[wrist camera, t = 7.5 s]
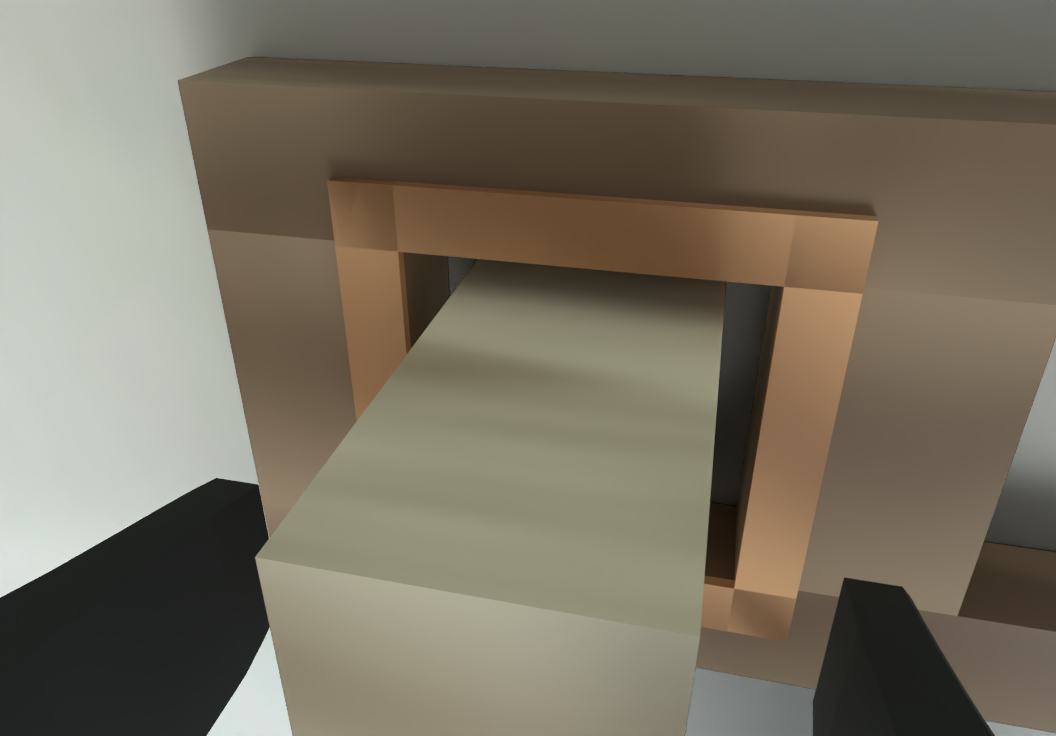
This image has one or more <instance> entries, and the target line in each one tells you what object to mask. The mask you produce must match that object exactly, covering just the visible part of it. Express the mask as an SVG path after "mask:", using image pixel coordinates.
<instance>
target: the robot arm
mask: <svg viewBox="0 0 1056 736" xmlns="http://www.w3.org/2000/svg"><path fill="white" fill-rule="evenodd" d="M268 539H269V537H268V531H267V526H266V521H265V516H264V511H263V506H262V501H261V496H260V491H259V486H258V485H257V484H250V483H244V482H238V481H231V480H225V479H219V478H216V479H214V480H212V481H210V482H208V483H206V484H204V485H202V486H200V487H198V488H196V489H194V490H192V491H190V492H188V493H187V494H185V495H183V496H181V497H179V498H178V499H176V500H174V501H172V502H170V503H169V504H167V505H165V506H163V507H162V508H160V509H158V510H156V511H155V512H153V513H151V514H150V515H148V516H146V517H144V518H143V519H141V520H139V521H137V522H136V523H134V524H132V525H130V526H129V527H127V528H125V529H124V530H122V531H120V532H118V533H117V534H115V535H113V536H111V537H110V538H108V539H106V540H104V541H103V542H101V543H99V544H97V545H96V546H94V547H92V548H90V549H89V550H87V551H85V552H83V553H82V554H80V555H78V556H76V557H75V558H73V559H71V560H69V561H68V562H66V563H64V564H62V565H61V566H59V567H57V568H55V569H53V570H52V571H50V572H48V573H46V574H44V575H43V576H41V577H39V578H37V579H35V580H33V581H31V582H29V583H27V584H26V585H24V586H22V587H20V588H18V589H16V590H14V591H12V592H10V593H9V594H7V595H5V596H3V597H1V598H0V736H206V735H207V734H208V732H209V731H210V729H211V728H212V726H213V725H214V723H215V722H216V720H217V719H218V717H219V715H220V714H221V712H222V711H223V709H224V708H225V706H226V705H227V703H228V702H229V700H230V699H231V697H232V695H233V694H234V692H235V691H236V689H237V688H238V686H239V684H240V683H241V681H242V680H243V678H244V677H245V675H246V673H247V671H248V670H249V668H250V666H251V664H252V662H253V660H254V658H255V656H256V654H257V652H258V650H259V648H260V646H261V644H262V642H263V640H264V638H265V636H266V634H267V631H268V629H269V627H270V626H269V621H268V616H267V611H266V607H265V602H264V597H263V593H262V588H261V583H260V578H259V574H258V569H257V564H256V559H255V557H256V555H257V554H258V553H259V551H260V550H261V549H262V547H263V546H264V545H265V543H266V542H267V541H268ZM813 736H995V735H994V734H993V732H992V731H991V729H990V728H989V726H988V725H987V723H986V722H985V720H984V719H983V717H982V716H981V714H980V712H979V711H978V709H977V708H976V706H975V705H974V703H973V701H972V700H971V698H970V697H969V695H968V693H967V692H966V690H965V689H964V687H963V685H962V684H961V682H960V680H959V679H958V677H957V675H956V674H955V672H954V671H953V669H952V667H951V666H950V664H949V662H948V661H947V659H946V657H945V656H944V654H943V652H942V651H941V649H940V647H939V646H938V644H937V642H936V640H935V639H934V637H933V635H932V634H931V632H930V630H929V628H928V627H927V625H926V623H925V621H924V620H923V618H922V616H921V614H920V613H919V611H918V609H917V607H916V606H915V604H914V602H913V600H912V599H911V597H910V595H909V594H908V593H907V592H906V590H905V589H904V588H903V587H902V586H896V585H889V584H883V583H877V582H870V581H864V580H858V579H851V578H845V577H844V579H843V583H842V587H841V591H840V595H839V600H838V604H837V608H836V612H835V616H834V620H833V624H832V628H831V632H830V636H829V640H828V644H827V648H826V652H825V656H824V660H823V664H822V668H821V672H820V676H819V680H818V684H817V688H816V692H815V696H814V700H813Z"/></svg>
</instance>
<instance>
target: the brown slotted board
mask: <svg viewBox="0 0 1056 736" xmlns="http://www.w3.org/2000/svg"><path fill="white" fill-rule="evenodd" d="M178 85H179V90H180V95H181V100H182V105H183V110H184V115H185V120H186V125H187V130H188V135H189V140H190V144H191V149H192V154H193V159H194V164H195V169H196V174H197V179H198V184H199V189H200V194H201V199H202V204H203V209H204V214H205V219H206V224H207V229H208V234H209V239H210V244H211V249H212V254H213V259H214V264H215V269H216V274H217V279H218V284H219V289H220V294H221V299H222V303H223V308H224V313H225V318H226V323H227V328H228V333H229V338H230V343H231V348H232V353H233V358H234V363H235V368H236V373H237V378H238V383H239V388H240V393H241V398H242V403H243V408H244V413H245V418H246V423H247V428H248V433H249V438H250V443H251V448H252V453H253V457H254V462H255V467H256V472H257V477H258V482H259V487H260V492H261V497H262V502H263V507H264V512H265V517H266V522H267V527H268V532H269V537H271V535H272V534H273V533H274V531H275V530H276V529H277V527H278V526H279V525H280V523H281V522H282V521H283V519H284V518H285V517H286V515H287V514H288V513H289V511H290V510H291V509H292V507H293V506H294V505H295V503H296V502H297V501H298V499H299V498H300V497H301V495H302V494H303V493H304V491H305V490H306V489H307V487H308V486H309V485H310V483H311V482H312V481H313V479H314V478H315V477H316V475H317V474H318V473H319V471H320V470H321V469H322V467H323V466H324V465H325V463H326V462H327V461H328V459H329V458H330V457H331V455H332V454H333V453H334V451H335V450H336V449H337V447H338V446H339V445H340V443H341V442H342V441H343V439H344V438H345V436H346V435H347V434H348V432H349V431H350V430H351V428H352V427H353V426H354V424H355V423H356V422H357V420H358V419H359V418H360V416H361V415H362V414H363V412H364V411H365V410H366V408H367V407H368V406H369V404H370V403H371V402H372V400H373V399H374V398H375V396H376V395H377V394H378V392H379V391H380V390H381V388H382V387H383V386H384V384H385V383H386V382H387V380H388V379H389V378H390V376H391V375H392V374H393V372H394V371H395V370H396V368H397V367H398V366H399V364H400V363H401V362H402V360H403V359H404V358H405V356H406V355H407V354H408V352H409V351H410V350H411V348H412V347H413V346H414V344H415V343H416V342H417V340H418V339H419V338H420V336H421V335H422V334H423V332H424V331H425V330H426V328H427V327H428V326H429V324H430V323H431V322H432V320H433V319H434V318H435V316H436V315H437V314H438V312H439V311H440V310H441V308H442V307H443V306H444V304H445V303H446V302H447V300H448V299H449V298H450V295H449V276H448V257H447V256H451V257H462V258H473V259H484V260H495V261H506V262H517V263H528V264H539V265H550V266H561V267H572V268H583V269H594V270H605V271H616V272H627V273H638V274H649V275H660V276H671V277H682V278H693V279H704V280H715V281H726V282H737V283H748V284H759V285H770V286H771V291H770V298H769V304H768V310H767V317H766V323H765V329H764V336H763V342H762V348H761V355H760V361H759V368H758V374H757V380H756V387H755V393H754V399H753V406H752V412H751V418H750V425H749V431H748V438H747V444H746V450H745V457H744V463H743V469H742V476H741V482H740V488H739V495H738V501H737V506H730V505H723V504H716V503H710V509H709V522H708V536H707V549H706V563H705V576H704V590H703V603H702V617H701V630H700V640H699V647H698V653H697V660H696V667H695V668H701V669H706V670H712V671H717V672H723V673H728V674H734V675H739V676H745V677H750V678H756V679H761V680H767V681H772V682H778V683H783V684H789V685H794V686H799V687H805V688H810V689H816V688H817V684H818V680H819V676H820V672H821V668H822V664H823V660H824V656H825V652H826V648H827V644H828V640H829V636H830V632H831V628H832V624H833V620H834V616H835V612H836V608H837V604H838V600H839V595H840V591H841V587H842V583H843V579H844V577H845V578H851V579H858V580H864V581H870V582H877V583H883V584H889V585H896V586H902V587H903V588H904V589H905V590H906V592H907V593H908V594H909V595H910V597H911V599H912V600H913V602H914V604H915V606H916V607H917V609H918V611H919V613H920V614H921V616H922V618H923V620H924V621H925V623H926V625H927V627H928V628H929V630H930V632H931V634H932V635H933V637H934V639H935V640H936V642H937V644H938V646H939V647H940V649H941V651H942V652H943V654H944V656H945V657H946V659H947V661H948V662H949V664H950V666H951V667H952V669H953V671H954V672H955V674H956V675H957V677H958V679H959V680H960V682H961V684H962V685H963V687H964V689H965V690H966V692H967V693H968V695H969V697H970V698H971V700H972V701H973V703H974V705H975V706H976V708H977V709H978V711H979V712H980V714H981V716H982V717H983V719H984V720H986V721H991V722H997V723H1002V724H1008V725H1013V726H1019V727H1024V728H1030V729H1035V730H1041V731H1046V732H1052V733H1056V552H1051V551H1044V550H1037V549H1030V548H1023V547H1016V546H1009V545H1002V544H995V543H988V542H984V540H985V537H986V534H987V531H988V528H989V525H990V523H991V520H992V517H993V514H994V511H995V508H996V506H997V503H998V500H999V497H1000V494H1001V492H1002V489H1003V486H1004V483H1005V480H1006V477H1007V475H1008V472H1009V469H1010V466H1011V463H1012V460H1013V458H1014V455H1015V452H1016V449H1017V446H1018V443H1019V441H1020V438H1021V435H1022V432H1023V429H1024V426H1025V424H1026V421H1027V418H1028V415H1029V412H1030V410H1031V407H1032V404H1033V401H1034V398H1035V395H1036V393H1037V390H1038V387H1039V384H1040V381H1041V378H1042V376H1043V373H1044V370H1045V367H1046V364H1047V361H1048V359H1049V356H1050V353H1051V350H1052V347H1053V344H1054V342H1055V339H1056V92H1050V91H1027V90H1004V89H981V88H958V87H934V86H911V85H888V84H865V83H842V82H818V81H795V80H772V79H749V78H726V77H702V76H679V75H656V74H633V73H610V72H587V71H563V70H540V69H517V68H494V67H471V66H447V65H424V64H401V63H378V62H355V61H332V60H308V59H285V58H262V57H247V58H244V59H241V60H238V61H235V62H232V63H229V64H226V65H223V66H220V67H217V68H214V69H211V70H208V71H205V72H202V73H199V74H196V75H193V76H190V77H187V78H184V79H181V80H178Z"/></svg>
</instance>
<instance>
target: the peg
mask: <svg viewBox="0 0 1056 736" xmlns="http://www.w3.org/2000/svg"><path fill="white" fill-rule="evenodd" d="M725 292H726V281H715V280H704V279H693V278H682V277H671V276H660V275H649V274H638V273H627V272H616V271H605V270H594V269H583V268H572V267H561V266H550V265H539V264H528V263H517V262H506V261H495V260H484V259H478V260H477V261H476V263H475V264H474V265H473V267H472V268H471V269H470V271H469V272H468V273H467V275H466V276H465V277H464V279H463V280H462V281H461V283H460V284H459V285H458V287H457V288H456V289H455V291H454V292H453V293H452V295H451V296H450V298H449V299H448V300H447V302H446V303H445V304H444V306H443V307H442V308H441V310H440V311H439V312H438V314H437V315H436V316H435V318H434V319H433V320H432V322H431V323H430V324H429V326H428V327H427V328H426V330H425V331H424V332H423V334H422V335H421V336H420V338H419V339H418V340H417V342H416V343H415V344H414V346H413V347H412V348H411V350H410V351H409V352H408V354H407V355H406V356H405V358H404V359H403V360H402V362H401V363H400V364H399V366H398V367H397V368H396V370H395V371H394V372H393V374H392V375H391V376H390V378H389V379H388V380H387V382H386V383H385V384H384V386H383V387H382V388H381V390H380V391H379V392H378V394H377V395H376V396H375V398H374V399H373V400H372V402H371V403H370V404H369V406H368V407H367V408H366V410H365V411H364V412H363V414H362V415H361V416H360V418H359V419H358V420H357V422H356V423H355V424H354V426H353V427H352V428H351V430H350V431H349V432H348V434H347V435H346V436H345V438H344V439H343V441H342V442H341V443H340V445H339V446H338V447H337V449H336V450H335V451H334V453H333V454H332V455H331V457H330V458H329V459H328V461H327V462H326V463H325V465H324V466H323V467H322V469H321V470H320V471H319V473H318V474H317V475H316V477H315V478H314V479H313V481H312V482H311V483H310V485H309V486H308V487H307V489H306V490H305V491H304V493H303V494H302V495H301V497H300V498H299V499H298V501H297V502H296V503H295V505H294V506H293V507H292V509H291V510H290V511H289V513H288V514H287V515H286V517H285V518H284V519H283V521H282V522H281V523H280V525H279V526H278V527H277V529H276V530H275V531H274V533H273V534H272V535H271V537H270V538H269V539H268V541H267V542H266V543H265V545H264V546H263V547H262V549H261V550H260V551H259V553H258V554H257V555H256V557H255V559H256V564H257V569H258V574H259V578H260V583H261V588H262V593H263V597H264V602H265V607H266V611H267V616H268V621H269V626H270V630H271V635H272V640H273V645H274V649H275V654H276V659H277V664H278V668H279V673H280V678H281V683H282V687H283V692H284V697H285V702H286V706H287V711H288V716H289V720H290V725H291V730H292V735H293V736H685V733H686V727H687V720H688V713H689V707H690V700H691V693H692V687H693V680H694V673H695V667H696V660H697V653H698V647H699V640H700V630H701V617H702V603H703V590H704V576H705V563H706V549H707V536H708V522H709V509H710V495H711V481H712V468H713V454H714V441H715V427H716V414H717V400H718V387H719V373H720V360H721V346H722V333H723V319H724V306H725Z"/></svg>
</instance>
